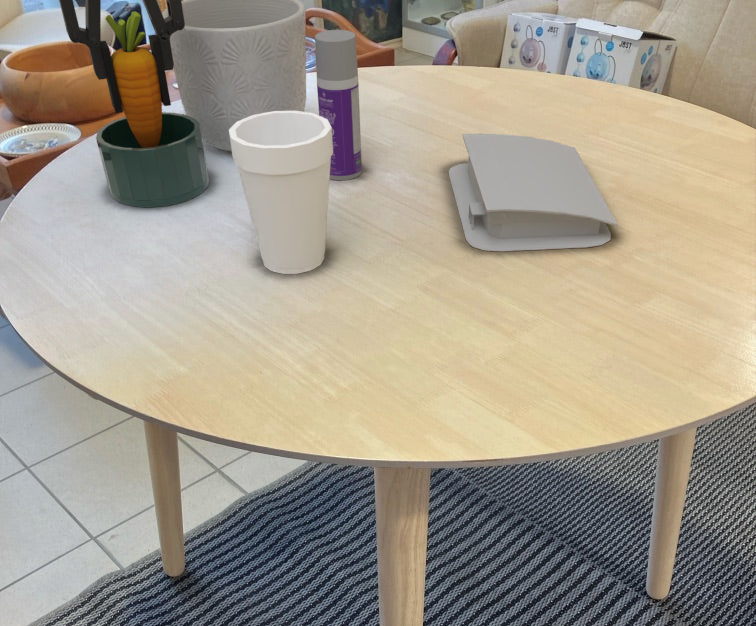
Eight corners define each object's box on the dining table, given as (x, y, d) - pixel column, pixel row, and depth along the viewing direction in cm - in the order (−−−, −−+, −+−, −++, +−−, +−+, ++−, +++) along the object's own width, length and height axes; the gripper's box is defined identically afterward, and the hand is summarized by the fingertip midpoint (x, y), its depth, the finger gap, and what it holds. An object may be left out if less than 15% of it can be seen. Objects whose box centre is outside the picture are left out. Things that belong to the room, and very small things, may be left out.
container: (318, 178, 102) (308, 40, 92) (329, 163, 105) (320, 28, 95) (356, 181, 101) (350, 42, 91) (366, 166, 104) (361, 30, 94)
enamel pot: (94, 205, 98) (79, 148, 94) (131, 165, 106) (118, 110, 102) (191, 209, 97) (180, 151, 92) (220, 168, 105) (212, 113, 101)
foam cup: (241, 282, 84) (221, 149, 75) (252, 239, 91) (235, 112, 82) (337, 280, 84) (329, 146, 75) (341, 237, 91) (333, 109, 82)
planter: (163, 135, 113) (138, 6, 103) (276, 108, 120) (263, -16, 109) (219, 177, 103) (197, 38, 92) (339, 145, 109) (331, 11, 99)
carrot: (121, 156, 99) (89, 11, 89) (157, 144, 102) (130, 2, 91) (145, 168, 97) (115, 20, 86) (181, 155, 99) (156, 10, 89)
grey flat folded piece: (469, 252, 88) (471, 216, 85) (446, 163, 104) (447, 131, 102) (618, 246, 88) (624, 209, 85) (571, 158, 104) (575, 125, 102)
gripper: (-9, -147, 74) (64, 128, 90) (191, -160, 79) (227, 104, 95) (-13, -157, 80) (56, 105, 96) (175, -168, 84) (211, 84, 100)
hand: (141, 104), depth 95 cm, fingers closed on carrot, 5 cm apart
